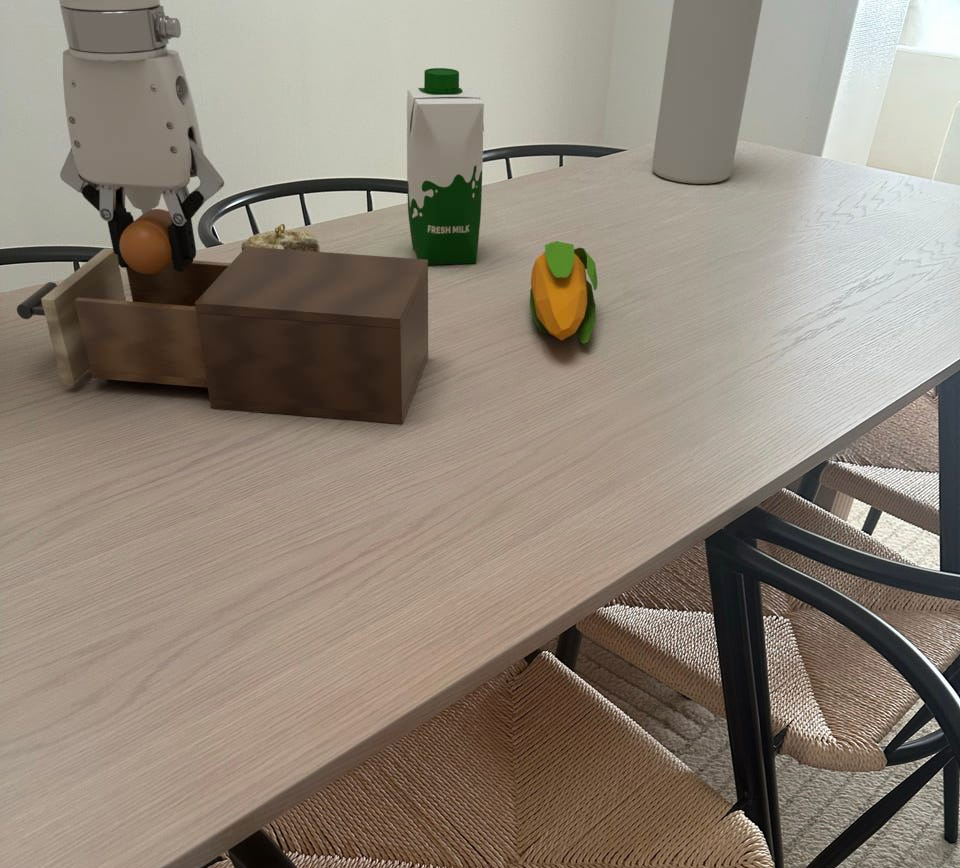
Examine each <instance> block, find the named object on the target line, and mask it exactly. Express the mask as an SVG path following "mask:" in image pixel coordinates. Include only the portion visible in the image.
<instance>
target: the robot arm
mask: <svg viewBox="0 0 960 868" xmlns="http://www.w3.org/2000/svg"><path fill="white" fill-rule="evenodd" d="M58 1H59V5H60V6H59V7H60V11H61V16H62V21H63V26H64V31H65V36H66V40H67V45H68V49H65V50H64V51H63V52H62V80H63V81H62V83H63V84H62V85H63V98H64V107H65V116H66V123H67V128H68V135H69V140H70V146H71V148H70V150H69V152H68V154H67V157H66V158H65V161H64V164H63V165H62V168H61V170H60V174H59V176H60V179H61V181H63V182H64V183H65V184H66V185H68V186H69V187H70V188H72V189H73V190H74V191H77V193H80V194H82V196H83V198H84V199H85V200H86V201H87V203H89V204H90V205H91V206H93V208H95V209H96V210H97V211H98V212H99V217H100V218H101V219H102V221H105V222H107V226H108V232H109V236H110V241H111V246H112V249H113V251H114V253H115V254H117V258H118V263H119V268H123V269H126V268H127V267H129V266H128V265H127V263H126V262H125V261H124V259H123V257H122V255H121V251H120V246H119V244H120V238H121V235H122V233H123V231H124V230H125V229H126V227H127V226H129V225H130V224H131V223H132V222H134V221H135V220H134V216H133V215H132V213H131V211H127V208H126V195H125V191H126V187H137V188H153V189H160V190H161V192H162V194H161V196H162V198H163V201H164V203H165V205H166V208H167V211H169V213H170V216H171V222H172V224H170V225H169V226H168V236H169V241H170V246H171V251H172V259H173V265H174V269H175V270H176V271H179V272H183V271H184V270H185V269H186V268H187V267H188V266H189V265H190V264H191V263H192V262H193V260H195V258H196V257H197V247H196V240H195V235H194V234H195V233H194V227H193V222H192V218H193V217H195V216H196V213H197V212H198V211H199V210H200V209H201V207H202V206H203V205H204V204H205V203H206V201H208V200H209V199H210V198H212V197H213V196H214V195H216V193H218V192H219V191H221V189H222V188H223V187H224V186H225V180H224V179H223V178H222V176H221V175H220V173H219V172H218V171H217V169H216V168H215V167H214V165H213V164H212V162H211V161H210V160H209V158H208V157H207V156H206V155H205V153H204V147H203V141H202V136H201V131H200V126H199V121H198V118H197V113H196V107H195V104H194V100H193V96H192V93H191V89H190V86H189V81H188V78H187V74H186V71H185V68H184V65H183V62H182V59H181V56H180V55H179V51H178V50H176V49H168V44H169V40H172V38H173V39H180V37H181V34H182V28H181V23H180V19H178V18H176V17H175V18H174V17H170V16H169V15H166V13H165V9H164V6H163V5H161V2H160V0H58ZM191 178H198V180H199V186H198V187H196V188H195V189H193V191H192V192H190V191H189V187H188V185H189V184H190V182H191Z"/></svg>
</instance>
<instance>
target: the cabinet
mask: <svg viewBox="0 0 960 868" xmlns="http://www.w3.org/2000/svg"><path fill="white" fill-rule="evenodd" d="M230 263H231V264H230V265H229V266H228V267H227V268H226V269H225V270H224V272H223V273H222V274H221V275H220V276H219V277H218V278H217V279H216V280H215V281H214V282H213V284H212V285H211V286H210V287H209V288H208V289H207V290H206V291H205V292H204V293H203V294H202V295H201V297H200V298H199V299H198V300H197V301H196V302H195V308H196V314H197V320H198V327H199V333H200V340H201V346H202V353H203V359H204V366H205V372H206V378H207V385H208V388H207V392H208V398H209V403H210V409H217V410H229V411H240V412H241V411H242V412H254V413H266V414H277V415H290V416H302V417H311V418H312V417H313V418H314V417H315V418H326V419H335V420H336V419H337V420H348V421H362V422H372V423H383V424H384V423H385V424H397V425H403V424H404V421H405V418H406V415H407V413H408V411H409V407H410V406H411V403H412V401H413V398H414V395H415V392H416V390H417V387H418V384H419V382H420V379H421V376H422V375H423V372H424V369H425V366H426V363H427V361H428V359H429V265H428V260H425V259H418V258H408V257H396V256H383V255H368V254H354V253H340V252H328V251H326V252H325V251H320V252H314V251H301V250H287V249H273V248H259V247H246V248H245V249H244V250H243V251H242V250H241V252H240V253H239V254H238V255H237V256H236V257H235V259H233V261H232V262H230Z"/></svg>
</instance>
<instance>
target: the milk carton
mask: <svg viewBox="0 0 960 868" xmlns="http://www.w3.org/2000/svg"><path fill="white" fill-rule="evenodd" d="M423 75H424V79H423V82H424V83H423V87H417V88H407V98H406V176H407V177H406V178H407V179H406V181H407V214H408V216H407V217H408V222H409V229H410V231H409V232H410V239H411V246H412V249H413V251H414V253H415V255H416V257H417V259H425V260H428V266H438V265H440V266H443V265H465V264H467V265H468V264H477V260H478V248H479V240H480V239H479V238H480V230H481V229H480V228H481V217H482V216H481V214H482V193H483V192H482V191H483V165H484V164H483V163H484V132H485V130H484V129H485V124H484V114H485V113H484V111H485V110H484V108H485V103H484V102H483V101H482V99H481V97H480V95H479V94H477V93H476V92H475V91H473V90H472V88H467V87H465V88H461V87H460V72H459V70H457V69H453V68H445V67H433V68H427V69H425V70H424V74H423Z"/></svg>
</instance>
